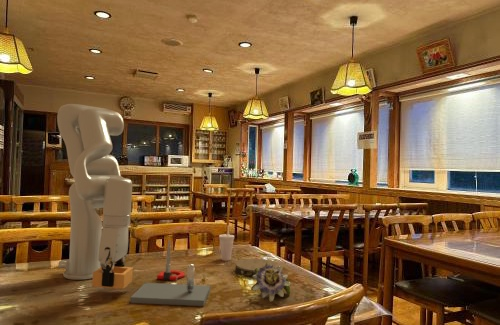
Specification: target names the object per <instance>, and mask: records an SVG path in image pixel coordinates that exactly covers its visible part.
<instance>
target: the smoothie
mask: <svg viewBox="0 0 500 325" xmlns="http://www.w3.org/2000/svg"><path fill="white" fill-rule="evenodd" d="M218 239H219V246H220V256H221V257H220V259H221V260H222V261H225V262H226V261H227V262H228V261H230V260H232V252H233V247H234V239H235V235H233V234H230V225H229V224H228V225H227V234H226V233H224V234H219V236H218Z"/></svg>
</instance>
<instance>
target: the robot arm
mask: <svg viewBox="0 0 500 325" xmlns="http://www.w3.org/2000/svg"><path fill="white" fill-rule="evenodd" d="M56 119H57V121H56V122H57V127H58V131H59V133H60V136H61V138H62V139H63V140H62V141H64V145H65V147H66V155H67V160H68V165H69V167H68V168H69V172H70V174H71V177H72V178H73V180H74V183H72V184H71V185H70V186H69V190H68V199H69V205H70V206H69V207H70V234H69V235H70V237H69V260H68V261H67V260H59V261H58V263H57V264H58V265H57V268H59V269H65V270H64V271H63V277H64V278H65V279H67V280H71V281H72V280H76V281H77V280H78V281H79V280H81V281H82V280H83V281H84V280H90V279H93V272H95V271H96V270H97V269H99V268H100V267H101V268H102V286H107V287H112V286H113V285H114V272H113V269H114V266H118V267H126V266H125V264H126V257H127V254H128V250H129V249H128V248H129V227H130V226H131V219H132V218H131V216H132V215H131V214H132V213H131V212H132V200H133V198H132V196H133V182H132V180H131V179H130V178H127V177H126V178H125V177H123V176H122V174H121V171H120V165H119V162H118V160H117V159H116V157H115V156H114V155H112V154H111V152H112V151H113V148H114V147H113V143H112V139H111V136H112V137H113V136H119V135H120V136H121V135H122V133H123V132H124V128H125V122H124V118H123V117H122V115H121V114H120V113H119V112H117V111H115V110H111V109H109V108H106V107H98V106H91V105H86V104H78V103H67V104H64V105H61V106H60V107H59V109H58V110H57V117H56ZM96 209H102V211H103V212H102V213H103V214H102V218H101V217H100V215H99V214H98V213H97V211H96ZM110 266H111V267H110Z"/></svg>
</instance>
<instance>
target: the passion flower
mask: <svg viewBox="0 0 500 325" xmlns="http://www.w3.org/2000/svg"><path fill="white" fill-rule="evenodd" d="M283 268H284V267H283V266H282V265H281V266H280V265H279V267H277V268H275V267H274V268H273V265H271V264H270V262H268V261H267V263H266V265H265V266H264V267H263V268H260V269H258V268H255V271H253V269H252V272H253V274H254V275H253V276H252V277H253V278H252V279H254V280H256V283H254V284H253V285H252V286H251V287H250V290H251V291H255V292H256V291H258V290H260V297H261V298H262V299H265V298H267V299H268V301H269V302H270V303H271V302H273V301H274V299H275V295H278V296H279V297H281V298H283V297H284V294H285V293H284V291H285V292H286V294H287V296H290V294H291V287H290V286H292V283H291V281H290V280H289V274H286V273H283V272H282V270H283ZM257 271H258V272H257ZM255 272H256V274H255Z"/></svg>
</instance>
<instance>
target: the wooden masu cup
mask: <svg viewBox="0 0 500 325" xmlns="http://www.w3.org/2000/svg"><path fill="white" fill-rule="evenodd" d="M109 266H110V267H111V265H109ZM113 272H114V285H113V286H112V287H107V286H102V268H101V266H100V268H99V269H97V270H96V271H95V272H93V278H92V284H91V285H92V286H91V287H96V288H105V289H107V288H108V289H119V290H125V288H127V287H128V285H130V284H131V283H132V282H133V275H134V267H133V266H132V267H131V266H129V267H128V266H124V267H118V266H114V269H113Z"/></svg>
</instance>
